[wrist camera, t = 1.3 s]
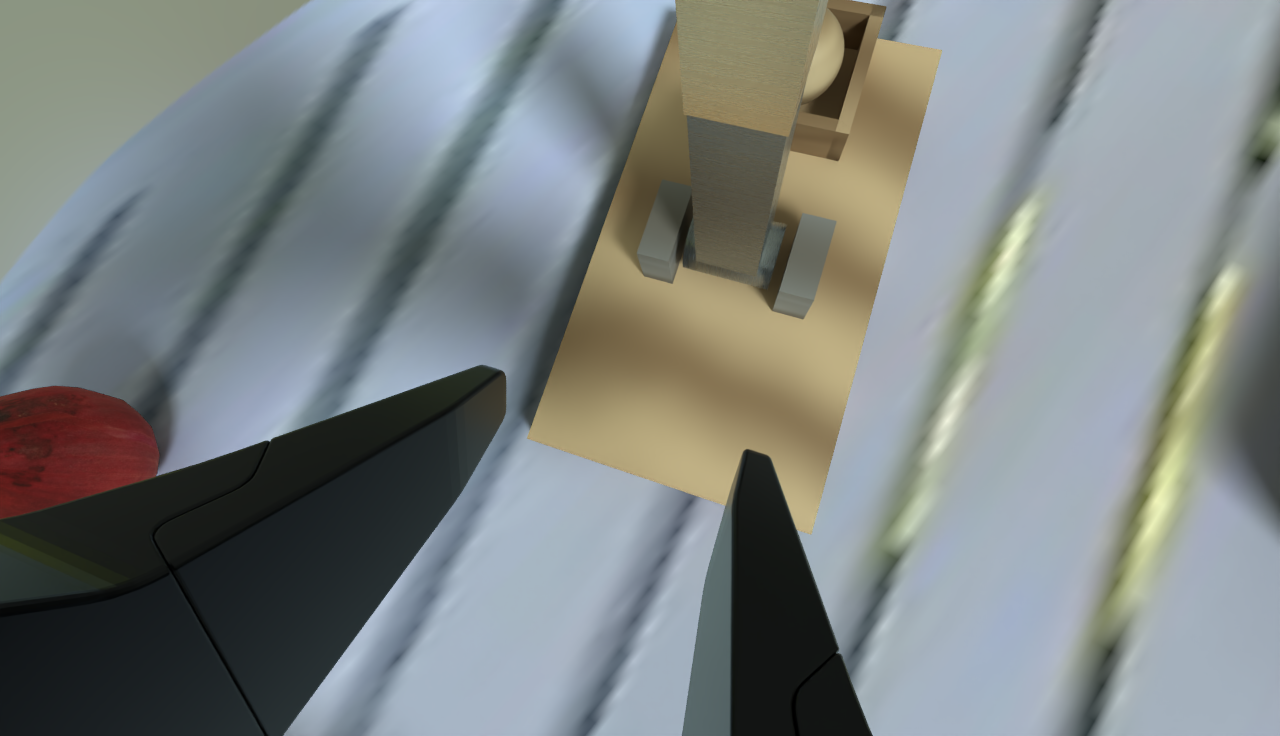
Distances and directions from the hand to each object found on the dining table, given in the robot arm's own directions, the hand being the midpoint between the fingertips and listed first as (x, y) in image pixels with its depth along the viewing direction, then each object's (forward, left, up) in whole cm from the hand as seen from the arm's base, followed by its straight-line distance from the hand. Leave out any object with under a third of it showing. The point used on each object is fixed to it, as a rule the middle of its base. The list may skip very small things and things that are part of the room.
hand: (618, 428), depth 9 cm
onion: (+7, +22, -14) cm, 27 cm away
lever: (+8, -6, -12) cm, 15 cm away
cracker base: (+7, -5, -14) cm, 16 cm away
